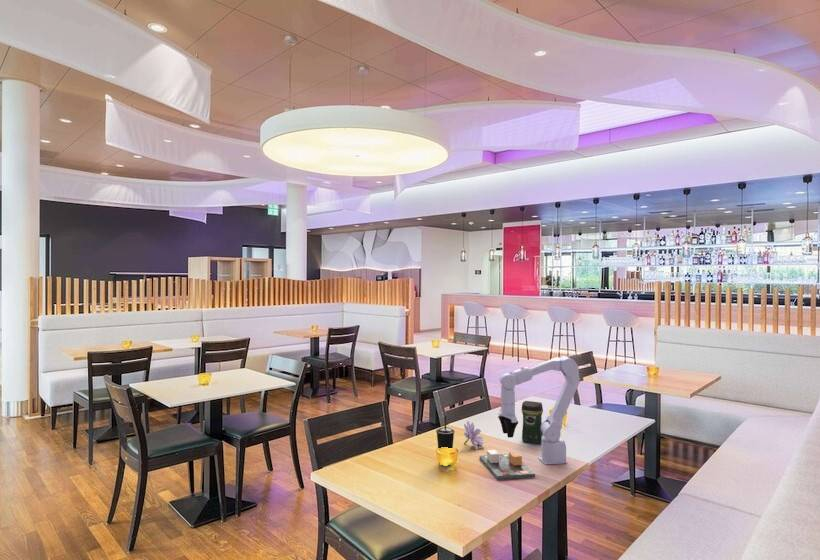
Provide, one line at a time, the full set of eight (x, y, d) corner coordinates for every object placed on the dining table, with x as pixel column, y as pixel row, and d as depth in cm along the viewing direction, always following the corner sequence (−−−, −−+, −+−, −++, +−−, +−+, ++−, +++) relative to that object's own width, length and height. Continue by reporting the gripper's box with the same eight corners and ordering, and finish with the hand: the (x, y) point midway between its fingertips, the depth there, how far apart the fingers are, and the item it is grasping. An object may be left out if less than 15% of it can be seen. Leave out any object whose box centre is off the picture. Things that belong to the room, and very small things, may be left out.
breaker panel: (513, 456, 204) (513, 453, 204) (535, 477, 182) (535, 473, 182) (479, 459, 201) (479, 455, 201) (497, 480, 180) (497, 475, 180)
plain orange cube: (517, 460, 195) (517, 451, 195) (521, 465, 190) (521, 456, 190) (509, 461, 195) (508, 452, 195) (513, 465, 190) (513, 456, 190)
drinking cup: (449, 469, 191) (449, 418, 191) (432, 465, 195) (432, 416, 195) (457, 463, 197) (457, 414, 197) (441, 459, 201) (441, 411, 201)
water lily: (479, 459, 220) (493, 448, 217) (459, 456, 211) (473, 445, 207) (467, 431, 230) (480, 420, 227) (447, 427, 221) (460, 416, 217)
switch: (495, 458, 198) (495, 449, 198) (499, 462, 193) (499, 453, 193) (487, 458, 197) (486, 450, 197) (490, 463, 192) (490, 454, 192)
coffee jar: (545, 440, 225) (544, 401, 225) (540, 445, 218) (540, 404, 218) (524, 437, 230) (524, 398, 230) (519, 442, 223) (519, 402, 223)
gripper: (493, 399, 207) (493, 430, 207) (504, 407, 193) (505, 441, 193) (508, 398, 208) (508, 429, 208) (521, 406, 194) (521, 440, 194)
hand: (508, 435), depth 200 cm, fingers open, 5 cm apart
